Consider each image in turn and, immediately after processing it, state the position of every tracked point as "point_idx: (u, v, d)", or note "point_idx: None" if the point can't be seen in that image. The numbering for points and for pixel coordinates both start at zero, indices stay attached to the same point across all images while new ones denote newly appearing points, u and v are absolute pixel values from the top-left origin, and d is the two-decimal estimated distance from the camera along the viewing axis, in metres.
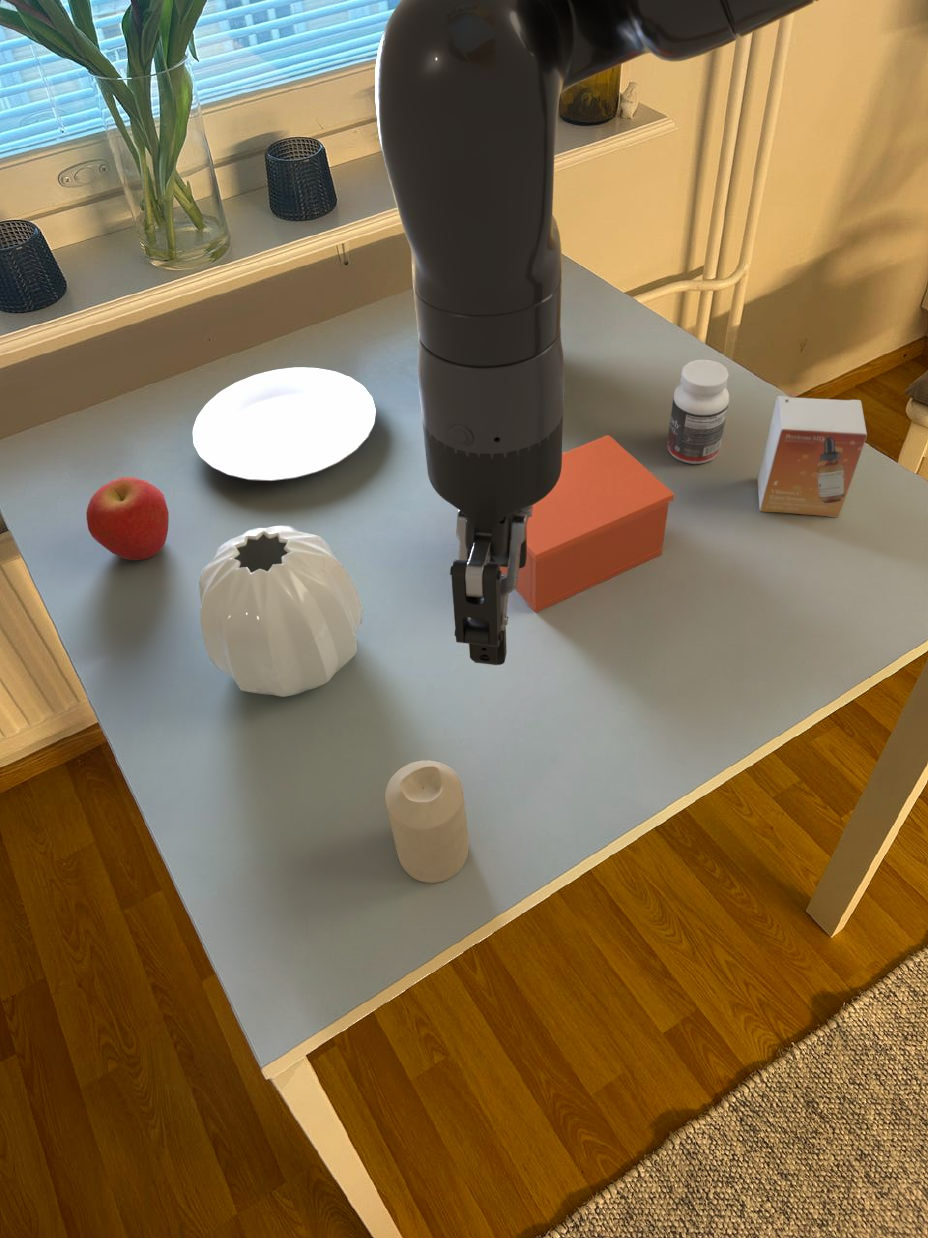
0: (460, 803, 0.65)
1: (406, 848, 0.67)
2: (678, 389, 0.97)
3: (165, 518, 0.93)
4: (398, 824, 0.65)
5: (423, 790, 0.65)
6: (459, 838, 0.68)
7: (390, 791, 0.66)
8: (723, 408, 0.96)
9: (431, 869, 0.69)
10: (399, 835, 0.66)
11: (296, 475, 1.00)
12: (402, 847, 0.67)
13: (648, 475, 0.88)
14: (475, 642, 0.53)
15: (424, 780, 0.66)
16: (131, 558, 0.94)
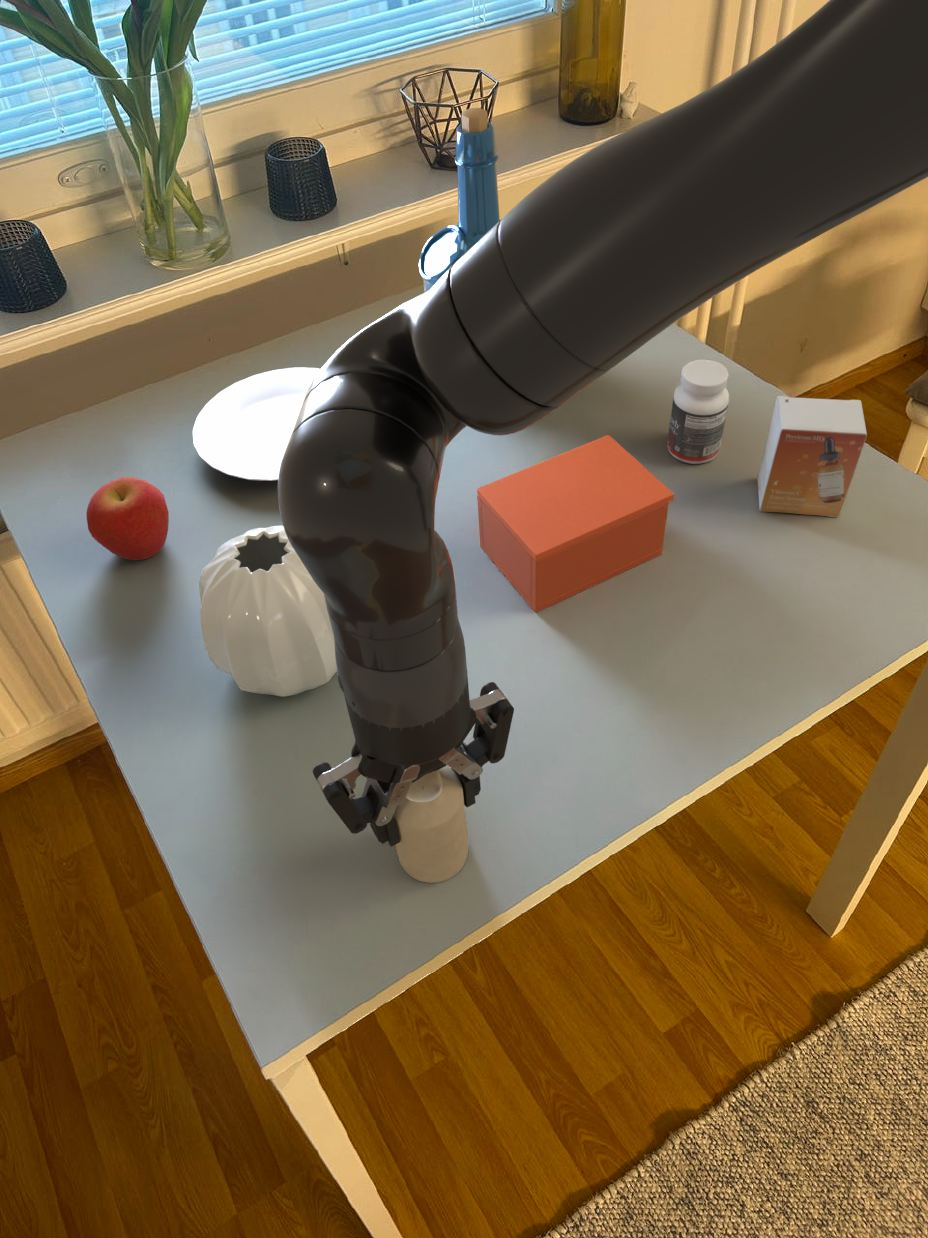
0: (460, 803, 0.65)
1: (406, 848, 0.67)
2: (678, 389, 0.97)
3: (165, 518, 0.93)
4: (398, 824, 0.65)
5: (423, 790, 0.65)
6: (459, 838, 0.68)
7: None
8: (723, 408, 0.96)
9: (431, 869, 0.69)
10: (399, 835, 0.66)
11: None
12: (402, 847, 0.67)
13: (648, 475, 0.88)
14: None
15: (424, 780, 0.66)
16: (131, 558, 0.94)
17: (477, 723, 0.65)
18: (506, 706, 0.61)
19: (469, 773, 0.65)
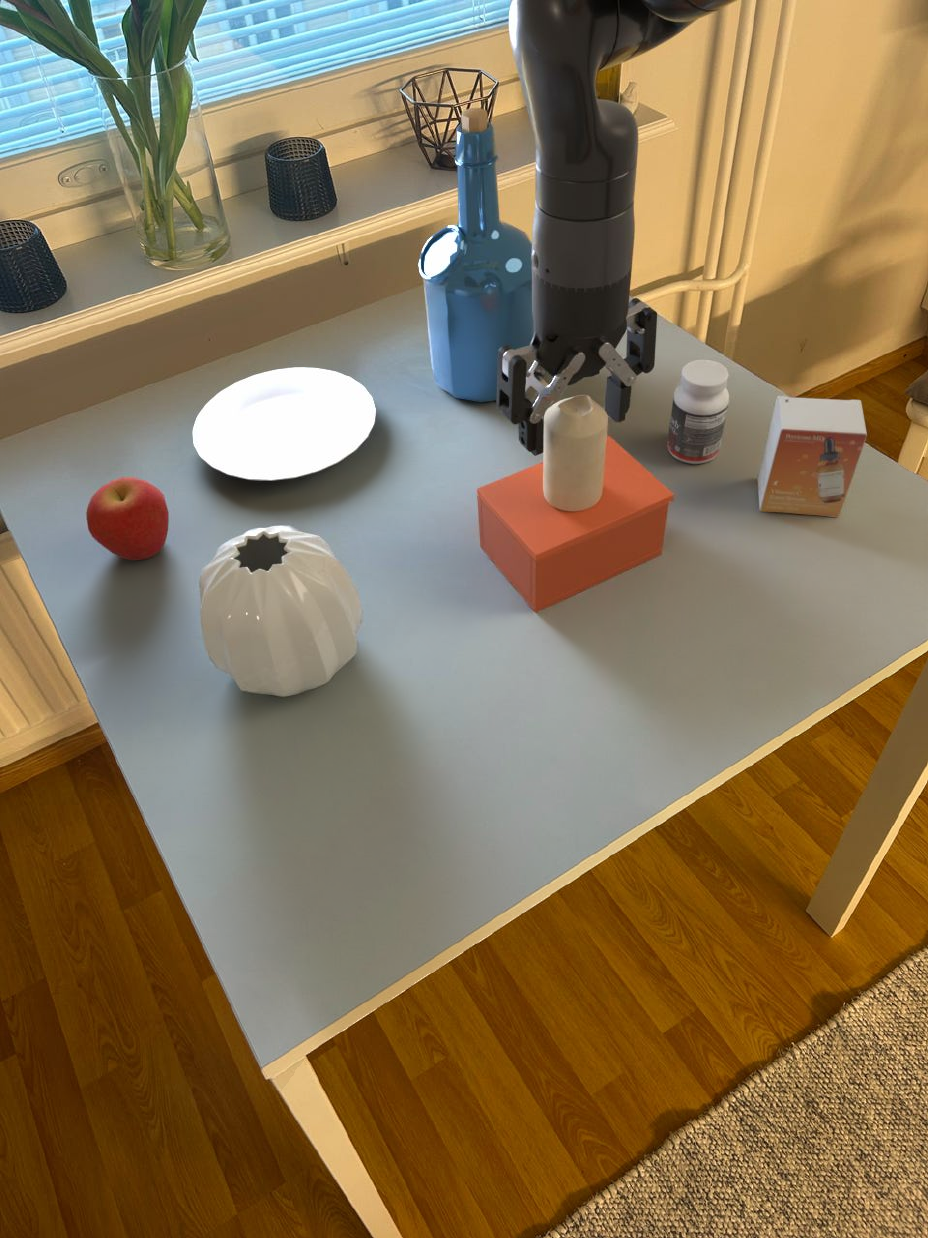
0: (606, 422, 0.80)
1: (559, 468, 0.82)
2: (678, 389, 0.97)
3: (165, 518, 0.93)
4: (557, 438, 0.80)
5: (576, 412, 0.80)
6: (601, 462, 0.83)
7: (549, 414, 0.81)
8: (723, 408, 0.96)
9: (576, 492, 0.84)
10: (555, 453, 0.81)
11: (296, 475, 1.00)
12: (555, 469, 0.83)
13: (648, 475, 0.88)
14: (503, 412, 0.76)
15: (576, 406, 0.81)
16: (131, 558, 0.94)
17: (629, 340, 0.79)
18: (650, 310, 0.75)
19: (626, 377, 0.79)
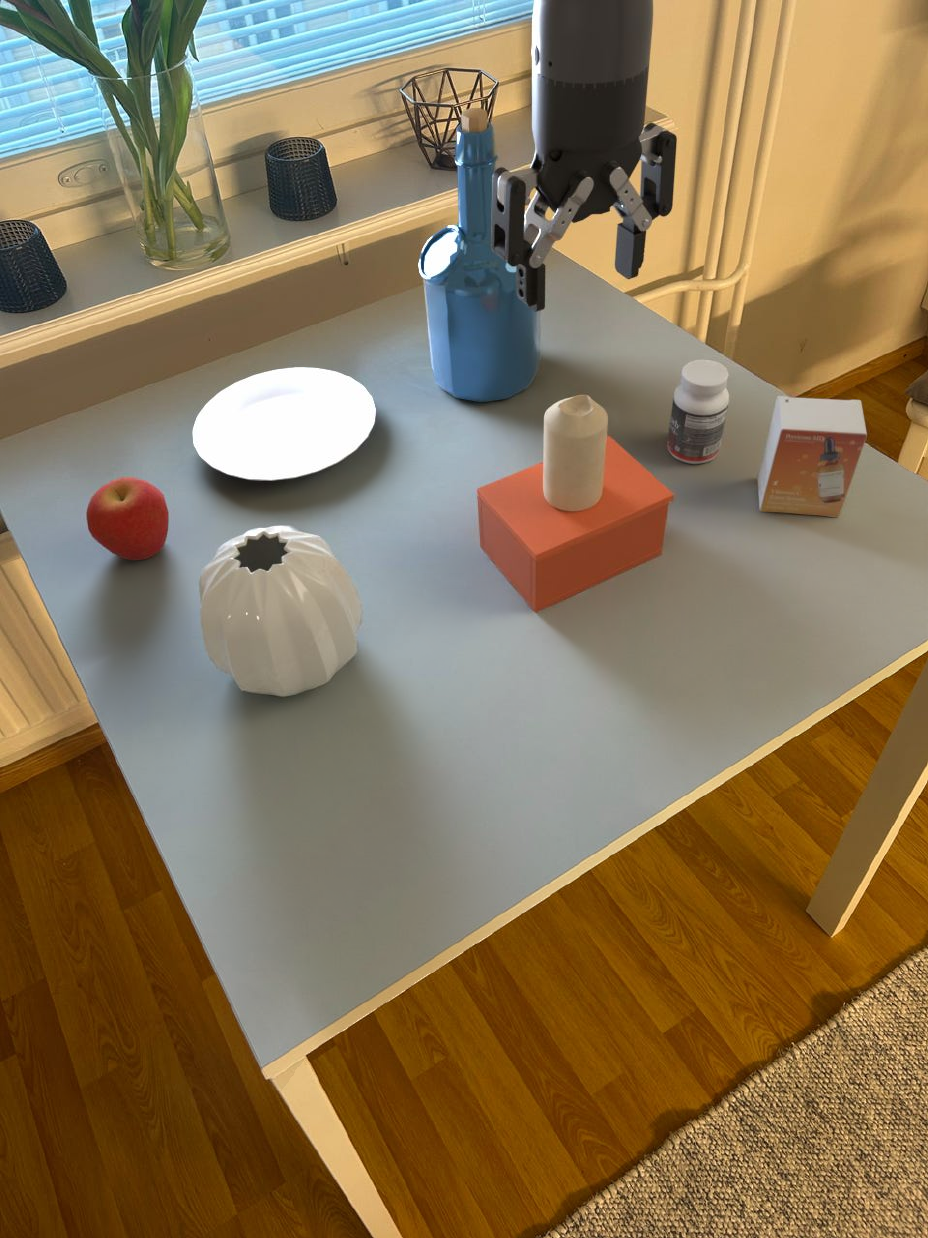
0: (606, 422, 0.80)
1: (559, 468, 0.82)
2: (678, 389, 0.97)
3: (165, 518, 0.93)
4: (557, 438, 0.80)
5: (576, 412, 0.80)
6: (601, 462, 0.83)
7: (549, 414, 0.81)
8: (723, 408, 0.96)
9: (576, 492, 0.84)
10: (555, 453, 0.81)
11: (296, 475, 1.00)
12: (555, 469, 0.83)
13: (648, 475, 0.88)
14: (499, 253, 0.66)
15: (576, 406, 0.81)
16: (131, 558, 0.94)
17: (643, 178, 0.69)
18: (669, 133, 0.65)
19: (640, 219, 0.69)
